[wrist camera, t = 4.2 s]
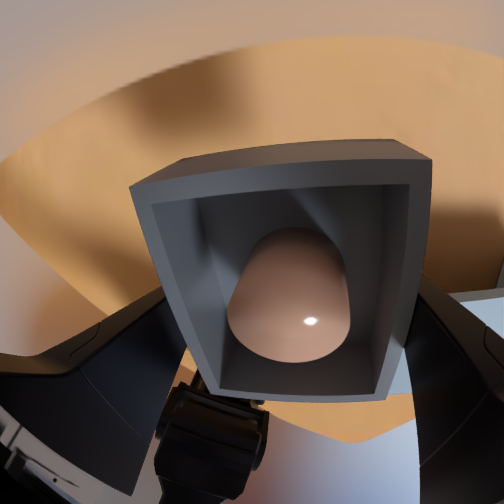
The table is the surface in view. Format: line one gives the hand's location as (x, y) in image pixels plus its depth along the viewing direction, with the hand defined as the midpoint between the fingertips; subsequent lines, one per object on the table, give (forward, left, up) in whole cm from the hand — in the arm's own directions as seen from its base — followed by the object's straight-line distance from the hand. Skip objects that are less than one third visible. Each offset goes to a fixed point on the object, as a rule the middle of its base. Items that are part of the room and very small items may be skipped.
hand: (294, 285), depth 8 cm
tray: (0, 0, -1) cm, 1 cm away
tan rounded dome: (0, 0, -1) cm, 1 cm away
